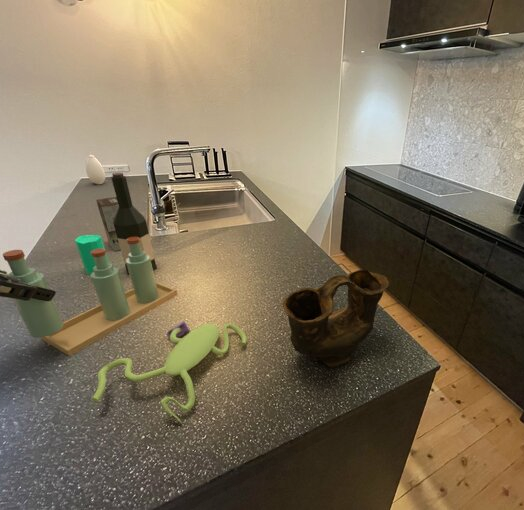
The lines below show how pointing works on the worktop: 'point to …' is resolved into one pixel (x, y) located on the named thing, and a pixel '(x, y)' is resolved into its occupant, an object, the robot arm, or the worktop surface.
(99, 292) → the tray bottles
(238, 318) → the worktop surface
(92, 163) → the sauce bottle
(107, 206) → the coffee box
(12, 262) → the loose bottle
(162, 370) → the figurine
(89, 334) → the tray
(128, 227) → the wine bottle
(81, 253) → the green polygonal prism
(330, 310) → the pottery vessel
